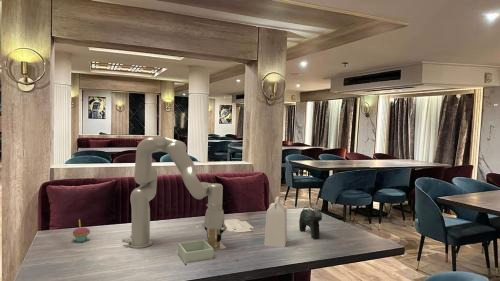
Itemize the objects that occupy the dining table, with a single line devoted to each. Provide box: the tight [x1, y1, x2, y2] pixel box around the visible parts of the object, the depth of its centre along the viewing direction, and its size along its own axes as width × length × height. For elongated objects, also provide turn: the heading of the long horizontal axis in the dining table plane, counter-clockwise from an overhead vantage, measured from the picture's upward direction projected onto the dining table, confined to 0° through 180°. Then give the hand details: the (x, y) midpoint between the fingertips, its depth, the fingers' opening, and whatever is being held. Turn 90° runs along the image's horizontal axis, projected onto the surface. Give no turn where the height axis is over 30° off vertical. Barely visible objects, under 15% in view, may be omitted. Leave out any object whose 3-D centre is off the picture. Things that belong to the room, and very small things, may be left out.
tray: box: [222, 218, 254, 233], centre depth 221 cm, size 20×28×4 cm
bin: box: [177, 239, 214, 266], centre depth 167 cm, size 14×14×6 cm
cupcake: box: [72, 219, 91, 243], centre depth 186 cm, size 9×8×12 cm
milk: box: [263, 196, 288, 248], centre depth 192 cm, size 12×12×26 cm
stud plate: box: [212, 241, 227, 250], centre depth 180 cm, size 10×10×6 cm
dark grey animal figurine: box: [298, 203, 323, 240], centre depth 207 cm, size 20×6×20 cm, turn 22°
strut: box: [207, 228, 221, 248], centre depth 180 cm, size 5×5×11 cm
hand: (214, 240), depth 180 cm, fingers closed on strut, 5 cm apart
